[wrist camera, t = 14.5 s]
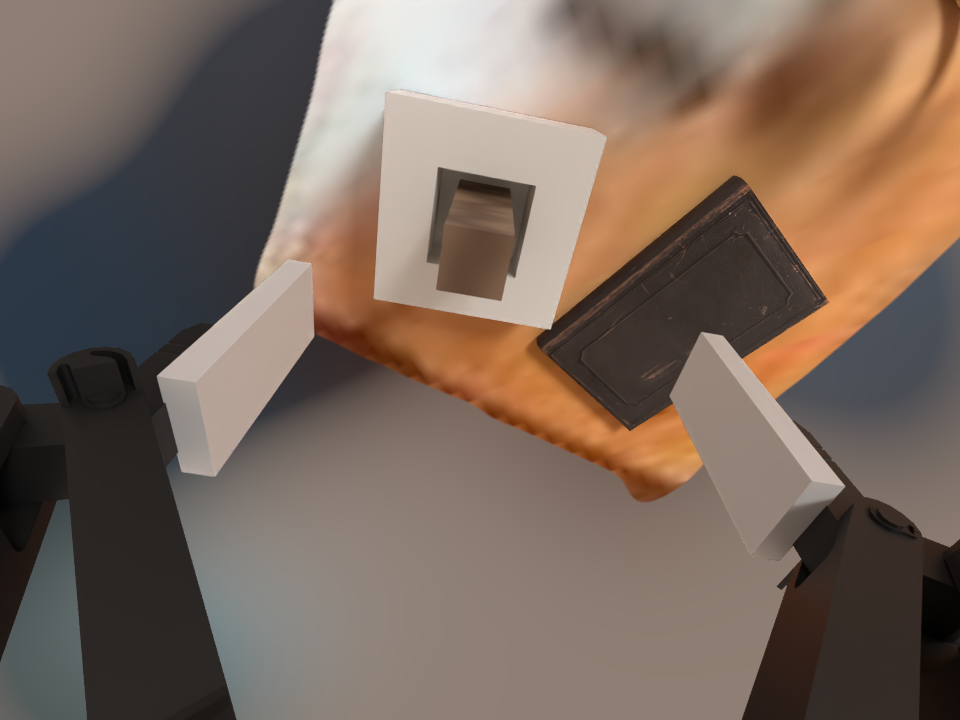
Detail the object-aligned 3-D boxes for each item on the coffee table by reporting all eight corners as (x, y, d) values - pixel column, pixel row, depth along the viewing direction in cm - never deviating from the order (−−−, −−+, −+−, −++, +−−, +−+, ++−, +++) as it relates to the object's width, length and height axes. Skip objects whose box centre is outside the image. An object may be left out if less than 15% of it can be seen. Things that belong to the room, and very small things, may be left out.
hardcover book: (815, 293, 46) (829, 302, 44) (625, 418, 55) (630, 431, 53) (731, 173, 40) (743, 178, 38) (535, 335, 49) (537, 346, 47)
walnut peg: (510, 188, 40) (515, 236, 28) (500, 237, 42) (501, 301, 30) (460, 179, 40) (444, 223, 28) (453, 229, 42) (435, 289, 30)
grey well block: (592, 128, 38) (607, 136, 33) (544, 301, 46) (550, 329, 41) (401, 89, 37) (385, 91, 32) (387, 273, 45) (373, 299, 40)
